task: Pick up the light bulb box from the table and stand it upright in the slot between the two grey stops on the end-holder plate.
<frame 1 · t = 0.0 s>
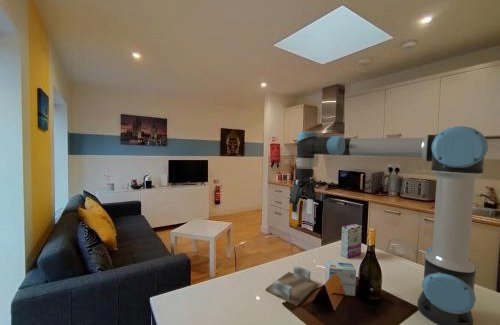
hand: (302, 216, 103), 28 cm above the table, tool pointing down, fingers open, 13 cm apart
light bulb box: (339, 290, 96), on the table
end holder: (292, 288, 97), on the table
candy bar box: (350, 255, 131), on the table
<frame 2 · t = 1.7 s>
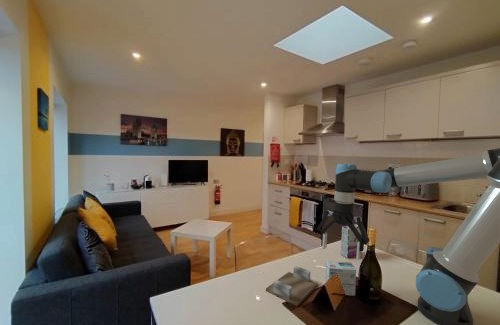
hand: (340, 253, 96), 15 cm above the table, tool pointing down, fingers open, 13 cm apart
nothing on the table moved.
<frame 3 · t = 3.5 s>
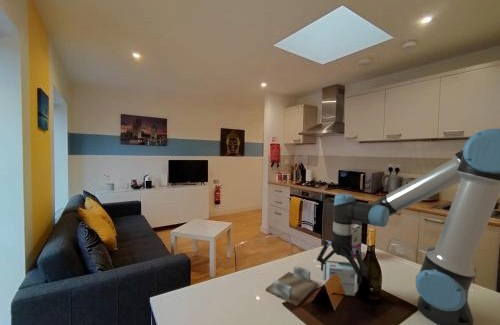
hand: (339, 284, 96), 2 cm above the table, tool pointing down, fingers closed on light bulb box, 12 cm apart
light bulb box: (339, 290, 96), on the table, touching gripper
everything else where it was.
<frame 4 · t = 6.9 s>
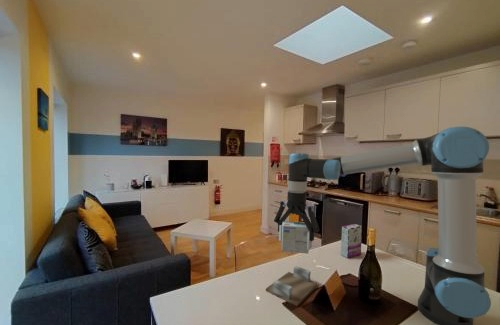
hand: (294, 243, 96), 18 cm above the table, tool pointing down, fingers closed on light bulb box, 12 cm apart
light bulb box: (294, 250, 96), point 16 cm above the table, touching gripper
everything else where it was.
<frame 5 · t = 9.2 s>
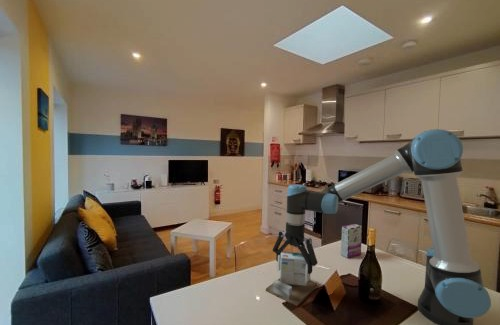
hand: (292, 274, 96), 6 cm above the table, tool pointing down, fingers closed on light bulb box, 12 cm apart
light bulb box: (292, 281, 97), point 3 cm above the table, touching gripper
everything else where it was.
when the fingers open (5 cm above the table, at t = 10.5 s): light bulb box drops 1 cm, resting on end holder.
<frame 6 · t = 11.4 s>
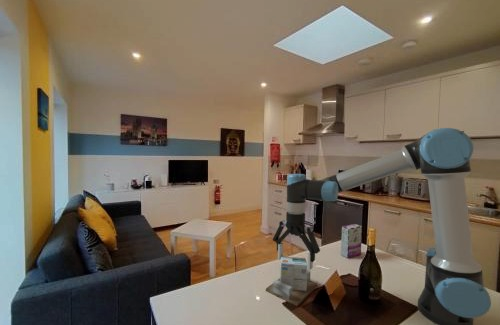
hand: (294, 263, 96), 10 cm above the table, tool pointing down, fingers open, 13 cm apart
light bulb box: (292, 286, 97), point 1 cm above the table, touching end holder, gripper
everything else where it was.
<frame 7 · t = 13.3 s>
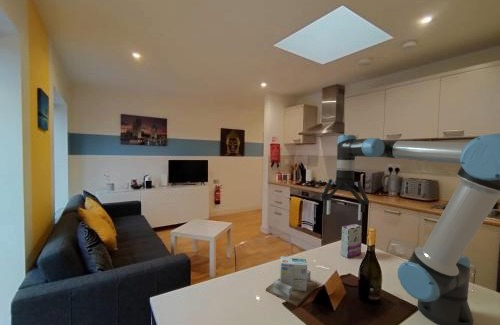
hand: (343, 216, 106), 28 cm above the table, tool pointing down, fingers open, 13 cm apart
light bulb box: (292, 286, 97), point 1 cm above the table, touching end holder
everything else where it was.
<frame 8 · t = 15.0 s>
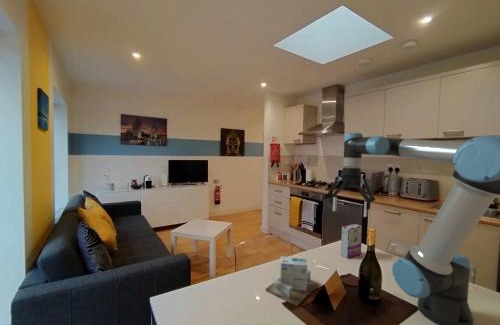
hand: (349, 213, 108), 29 cm above the table, tool pointing down, fingers open, 13 cm apart
nothing on the table moved.
at the end: light bulb box 0.0 cm off-centre on the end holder, point 0.8 cm above the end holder's base; light bulb box tilted 0°; the gripper is holding nothing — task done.
